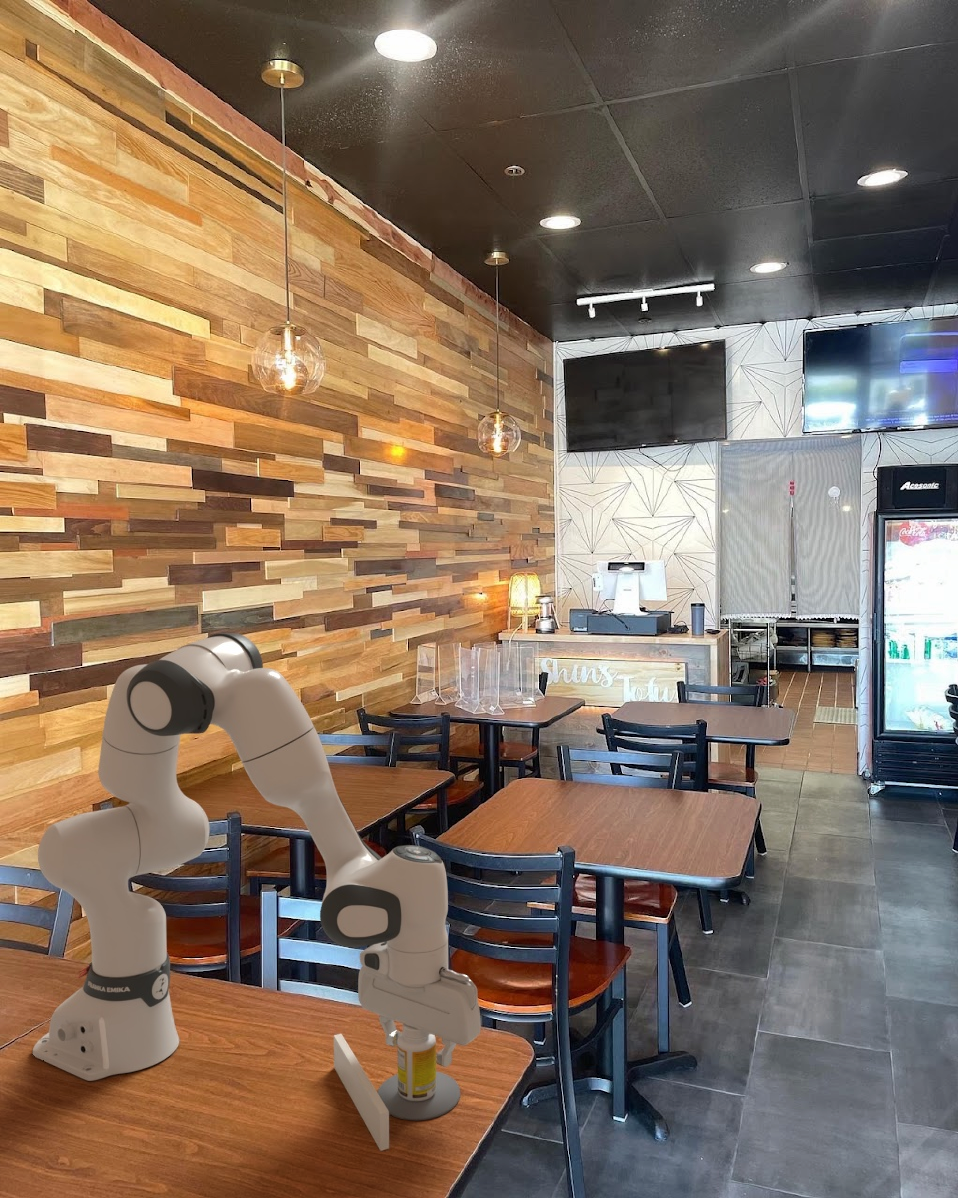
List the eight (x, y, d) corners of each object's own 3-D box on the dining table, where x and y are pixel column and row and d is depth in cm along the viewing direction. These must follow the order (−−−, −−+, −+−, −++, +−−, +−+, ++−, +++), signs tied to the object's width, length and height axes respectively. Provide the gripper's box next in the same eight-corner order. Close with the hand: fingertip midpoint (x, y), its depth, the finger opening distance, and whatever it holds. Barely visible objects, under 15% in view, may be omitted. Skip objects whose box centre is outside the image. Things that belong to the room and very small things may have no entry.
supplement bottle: (442, 1086, 134) (442, 1018, 133) (425, 1107, 128) (425, 1036, 128) (408, 1078, 136) (408, 1010, 135) (390, 1098, 131) (390, 1028, 130)
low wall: (389, 1148, 120) (388, 1111, 120) (380, 1151, 120) (380, 1113, 119) (341, 1065, 140) (341, 1033, 140) (334, 1067, 140) (333, 1035, 139)
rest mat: (362, 1110, 129) (362, 1107, 129) (398, 1066, 140) (398, 1063, 140) (441, 1128, 124) (441, 1125, 124) (472, 1081, 136) (472, 1078, 136)
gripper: (489, 970, 128) (489, 1066, 129) (379, 936, 140) (380, 1025, 140) (463, 987, 123) (463, 1088, 123) (351, 951, 135) (351, 1042, 135)
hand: (418, 1054), depth 132 cm, fingers open, 8 cm apart
